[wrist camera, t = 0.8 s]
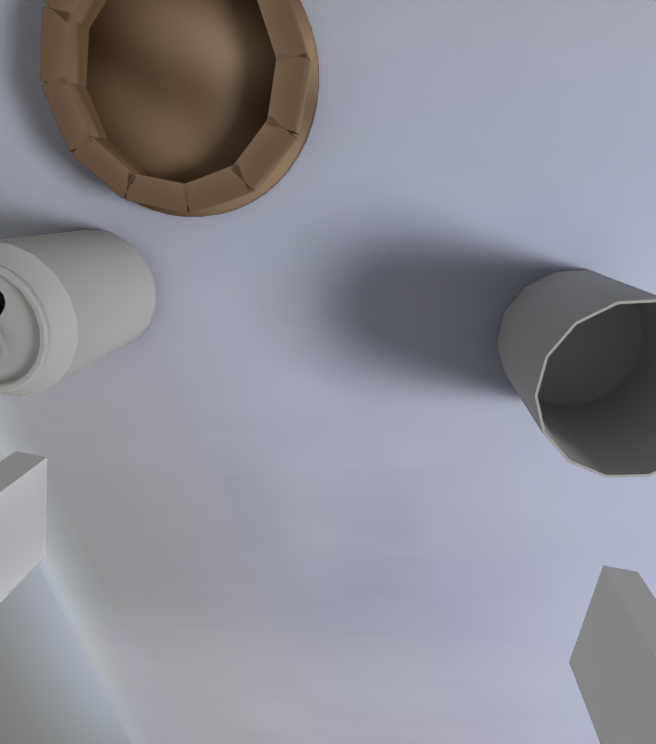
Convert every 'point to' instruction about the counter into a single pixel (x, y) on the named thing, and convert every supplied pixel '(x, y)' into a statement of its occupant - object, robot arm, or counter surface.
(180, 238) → the counter surface
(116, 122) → the tray
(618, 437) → the cup
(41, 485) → the robot arm
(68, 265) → the can
